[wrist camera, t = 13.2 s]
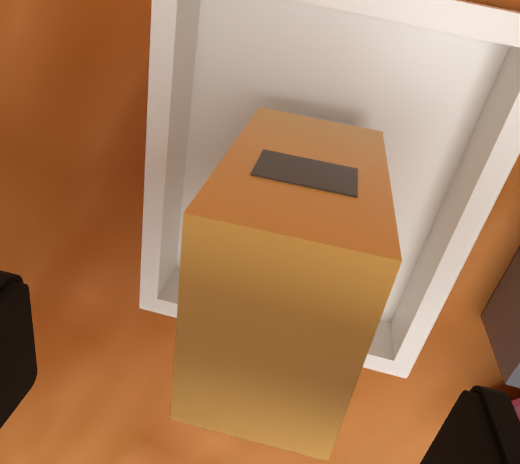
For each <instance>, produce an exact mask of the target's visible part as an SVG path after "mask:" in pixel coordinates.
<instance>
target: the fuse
mask: <svg viewBox="0 0 520 464" xmlns="http://www.w3.org/2000/svg"><path fill="white" fill-rule="evenodd" d="M401 263H402V257H401V250H400V244H399V237H398V231H397V224H396V217H395V211H394V204H393V197H392V191H391V184H390V177H389V171H388V164H387V157H386V151H385V144H384V137H383V131H378V130H373V129H368V128H362V127H357V126H353V122H349V121H344V120H339V119H334V118H329V117H324V116H319V115H314V114H309V113H304V112H299V111H293V110H290V111H289V113H286V112H281V111H276V110H271V109H266V108H261V107H259V108H258V110H257V111H256V112H255V114H254V115H253V117H252V118H251V119H250V121H249V122H248V124H247V125H246V126H245V128H244V129H243V130H242V132H241V133H240V135H239V136H238V137H237V139H236V140H235V142H234V143H233V144H232V146H231V147H230V149H229V150H228V151H227V153H226V154H225V156H224V157H223V158H222V160H221V161H220V162H219V164H218V165H217V167H216V168H215V169H214V171H213V172H212V174H211V175H210V176H209V178H208V179H207V181H206V182H205V183H204V185H203V186H202V188H201V189H200V190H199V192H198V193H197V195H196V196H195V197H194V199H193V200H192V201H191V203H190V204H189V206H188V207H187V208H186V210H185V211H184V213H183V226H182V242H181V258H180V274H179V290H178V306H177V322H176V338H175V354H174V370H173V386H172V402H171V417H170V420H173V421H176V422H180V423H184V424H188V425H192V426H195V427H199V428H203V429H207V430H211V431H215V432H218V433H222V434H226V435H230V436H234V437H237V438H241V439H245V440H249V441H253V442H256V443H260V444H264V445H268V446H272V447H276V448H279V449H283V450H287V451H291V452H295V453H298V454H302V455H306V456H310V457H314V458H317V459H321V460H325V461H328V458H329V456H330V453H331V450H332V448H333V445H334V442H335V440H336V437H337V434H338V432H339V429H340V426H341V424H342V421H343V418H344V415H345V413H346V410H347V407H348V405H349V402H350V399H351V397H352V394H353V391H354V389H355V386H356V383H357V381H358V378H359V375H360V373H361V370H362V367H363V365H364V362H365V359H366V357H367V354H368V351H369V349H370V346H371V343H372V340H373V338H374V335H375V332H376V330H377V327H378V324H379V322H380V319H381V316H382V314H383V311H384V308H385V306H386V303H387V300H388V298H389V295H390V292H391V290H392V287H393V284H394V282H395V279H396V276H397V274H398V271H399V268H400V266H401Z"/></svg>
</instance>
